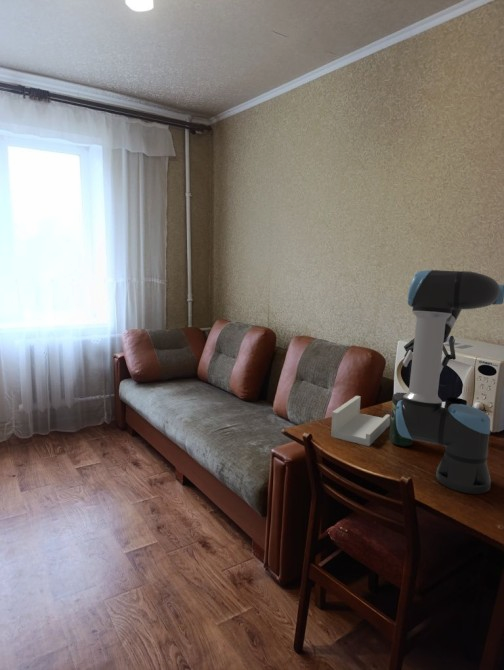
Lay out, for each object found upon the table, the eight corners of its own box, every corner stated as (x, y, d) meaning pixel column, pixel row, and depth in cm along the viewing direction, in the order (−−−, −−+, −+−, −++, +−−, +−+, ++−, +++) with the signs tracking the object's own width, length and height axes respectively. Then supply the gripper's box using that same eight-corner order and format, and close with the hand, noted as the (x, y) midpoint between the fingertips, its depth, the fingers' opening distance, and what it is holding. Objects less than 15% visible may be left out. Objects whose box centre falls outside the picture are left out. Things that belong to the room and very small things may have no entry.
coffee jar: (415, 447, 158) (419, 399, 155) (393, 446, 159) (396, 398, 156) (407, 437, 168) (411, 391, 165) (387, 436, 168) (390, 390, 165)
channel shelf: (369, 446, 159) (370, 420, 157) (330, 436, 167) (332, 411, 165) (389, 425, 180) (391, 402, 179) (354, 417, 188) (356, 395, 187)
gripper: (476, 336, 167) (455, 380, 159) (415, 328, 185) (394, 367, 178) (472, 323, 162) (450, 368, 155) (410, 316, 181) (388, 356, 173)
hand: (420, 368), depth 166 cm, fingers open, 13 cm apart
